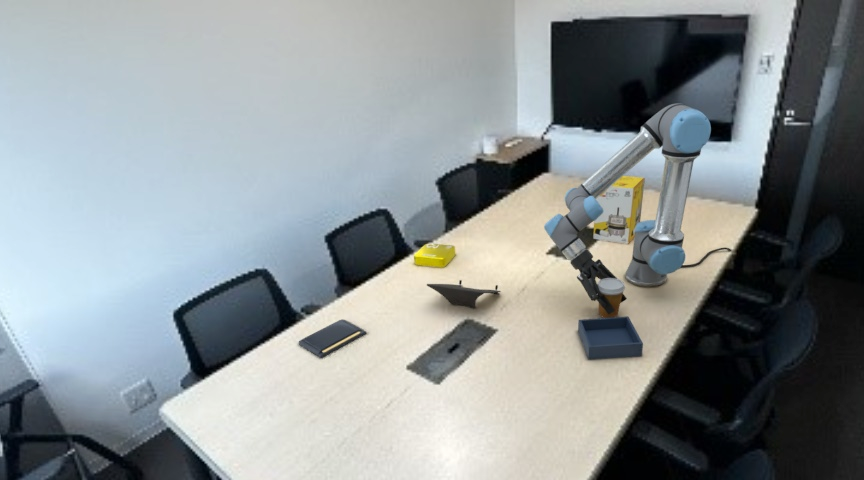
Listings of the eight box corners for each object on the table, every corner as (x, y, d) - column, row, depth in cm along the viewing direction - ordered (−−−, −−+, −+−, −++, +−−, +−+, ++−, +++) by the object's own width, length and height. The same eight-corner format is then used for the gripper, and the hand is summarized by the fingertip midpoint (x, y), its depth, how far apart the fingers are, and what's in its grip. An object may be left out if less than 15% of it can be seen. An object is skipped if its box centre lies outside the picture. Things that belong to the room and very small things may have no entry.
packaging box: (639, 231, 250) (645, 177, 237) (628, 244, 239) (633, 188, 226) (605, 226, 258) (609, 174, 245) (593, 238, 247) (596, 185, 234)
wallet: (342, 316, 200) (366, 329, 191) (343, 320, 201) (367, 334, 192) (295, 338, 189) (318, 354, 180) (297, 343, 190) (319, 358, 181)
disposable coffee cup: (623, 308, 192) (626, 278, 185) (621, 322, 184) (624, 291, 178) (596, 306, 195) (598, 276, 188) (592, 319, 187) (594, 288, 181)
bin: (627, 328, 182) (628, 316, 179) (641, 356, 168) (643, 343, 165) (577, 331, 183) (578, 319, 180) (588, 359, 169) (589, 347, 166)
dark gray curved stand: (503, 309, 211) (506, 286, 209) (481, 312, 190) (484, 286, 188) (450, 301, 219) (452, 279, 218) (424, 303, 199) (427, 278, 197)
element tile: (413, 265, 238) (411, 255, 236) (427, 251, 250) (426, 241, 247) (444, 268, 233) (443, 258, 230) (457, 254, 244) (456, 244, 242)
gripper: (585, 249, 196) (623, 298, 195) (555, 272, 182) (596, 325, 182) (599, 238, 190) (638, 288, 189) (570, 261, 176) (612, 315, 176)
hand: (617, 306), depth 186 cm, fingers closed on disposable coffee cup, 9 cm apart
